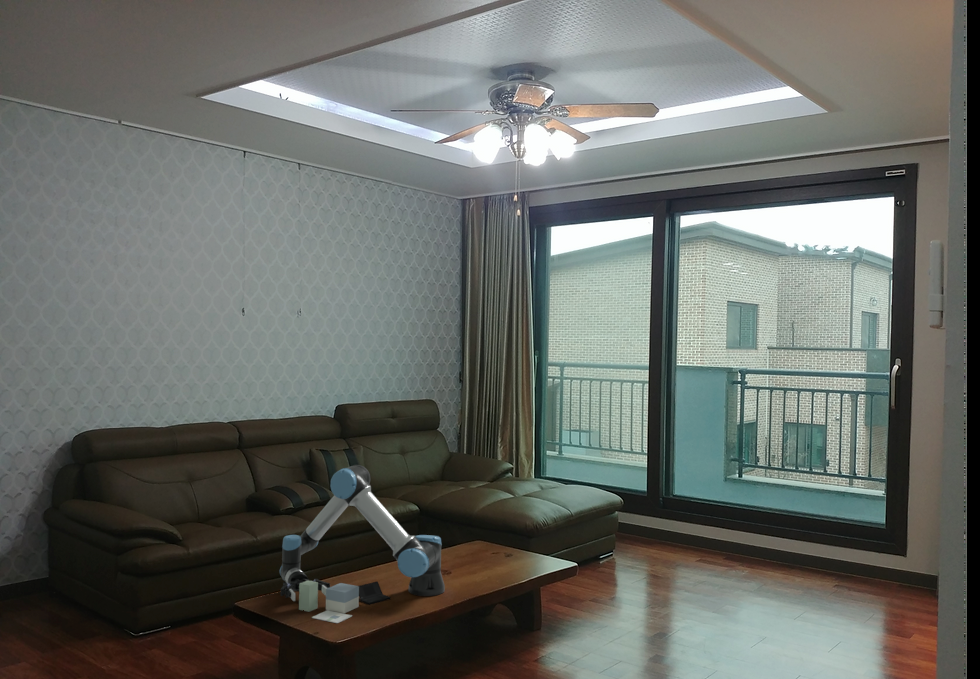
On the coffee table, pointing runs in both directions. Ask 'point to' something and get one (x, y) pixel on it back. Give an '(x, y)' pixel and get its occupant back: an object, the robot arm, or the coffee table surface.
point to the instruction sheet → (332, 616)
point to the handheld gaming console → (371, 593)
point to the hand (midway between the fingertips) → (311, 595)
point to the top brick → (308, 596)
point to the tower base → (342, 605)
